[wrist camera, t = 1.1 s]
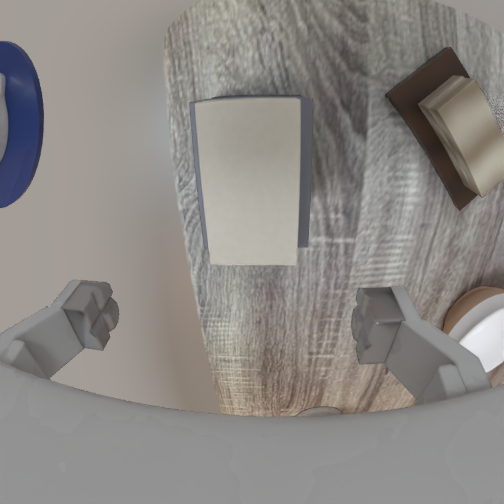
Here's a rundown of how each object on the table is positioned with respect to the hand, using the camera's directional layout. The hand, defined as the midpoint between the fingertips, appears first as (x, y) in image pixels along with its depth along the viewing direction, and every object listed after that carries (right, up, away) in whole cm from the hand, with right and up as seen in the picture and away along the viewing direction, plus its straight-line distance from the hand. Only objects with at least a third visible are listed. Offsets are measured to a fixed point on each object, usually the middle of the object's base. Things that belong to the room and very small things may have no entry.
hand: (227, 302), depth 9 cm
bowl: (+36, -8, +29) cm, 47 cm away
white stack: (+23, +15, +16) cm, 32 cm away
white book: (+1, +7, +11) cm, 13 cm away
